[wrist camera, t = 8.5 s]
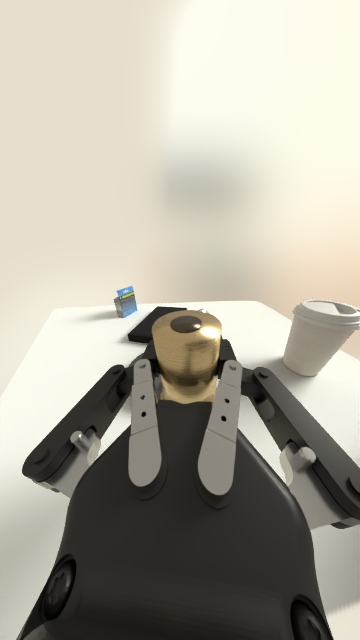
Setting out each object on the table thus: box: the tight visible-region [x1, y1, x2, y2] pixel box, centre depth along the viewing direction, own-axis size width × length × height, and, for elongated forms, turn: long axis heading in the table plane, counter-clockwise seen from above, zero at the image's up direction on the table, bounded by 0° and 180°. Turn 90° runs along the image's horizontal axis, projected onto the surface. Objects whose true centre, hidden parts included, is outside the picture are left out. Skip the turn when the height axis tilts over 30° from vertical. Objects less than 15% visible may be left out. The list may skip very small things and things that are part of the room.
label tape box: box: [114, 286, 137, 318], centre depth 61 cm, size 9×4×12 cm, turn 154°
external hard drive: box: [128, 307, 187, 343], centre depth 52 cm, size 14×23×3 cm, turn 164°
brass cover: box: [152, 310, 221, 406], centre depth 13 cm, size 6×6×10 cm
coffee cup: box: [283, 299, 360, 377], centre depth 28 cm, size 10×10×15 cm
